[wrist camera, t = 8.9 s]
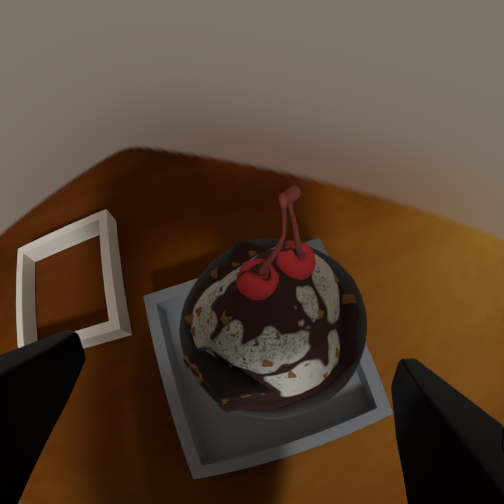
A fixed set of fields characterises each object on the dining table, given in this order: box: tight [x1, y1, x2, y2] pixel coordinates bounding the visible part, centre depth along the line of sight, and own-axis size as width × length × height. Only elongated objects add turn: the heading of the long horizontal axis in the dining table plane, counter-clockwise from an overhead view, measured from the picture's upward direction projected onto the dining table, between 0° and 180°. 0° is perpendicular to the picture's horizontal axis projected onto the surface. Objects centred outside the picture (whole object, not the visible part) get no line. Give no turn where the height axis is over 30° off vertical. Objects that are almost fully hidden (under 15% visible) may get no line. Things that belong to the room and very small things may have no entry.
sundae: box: [179, 185, 367, 419], centre depth 13 cm, size 7×7×15 cm
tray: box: [143, 237, 393, 479], centre depth 19 cm, size 13×13×2 cm
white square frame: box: [16, 209, 132, 348], centre depth 23 cm, size 11×11×2 cm
